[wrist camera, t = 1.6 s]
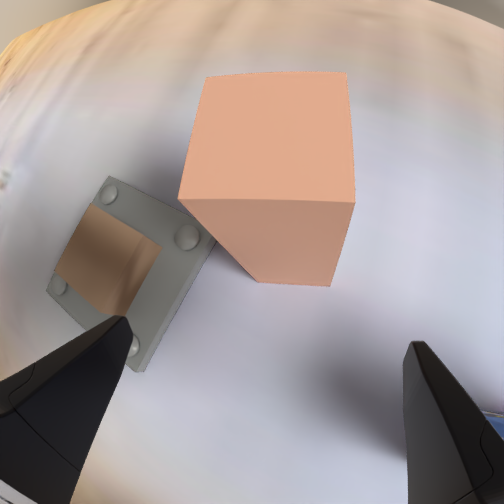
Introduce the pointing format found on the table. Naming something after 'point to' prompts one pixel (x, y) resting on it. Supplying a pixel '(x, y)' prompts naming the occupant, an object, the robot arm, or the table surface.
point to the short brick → (106, 261)
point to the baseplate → (160, 275)
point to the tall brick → (274, 172)
